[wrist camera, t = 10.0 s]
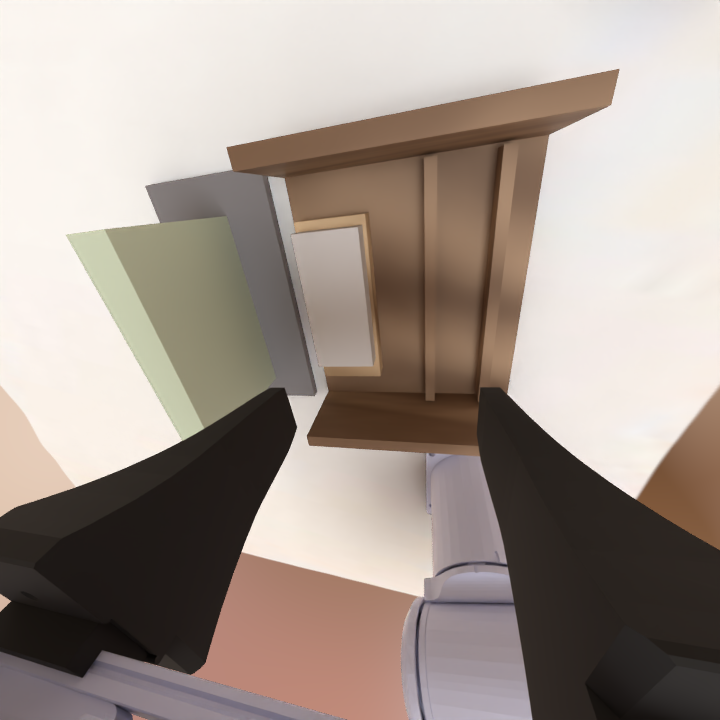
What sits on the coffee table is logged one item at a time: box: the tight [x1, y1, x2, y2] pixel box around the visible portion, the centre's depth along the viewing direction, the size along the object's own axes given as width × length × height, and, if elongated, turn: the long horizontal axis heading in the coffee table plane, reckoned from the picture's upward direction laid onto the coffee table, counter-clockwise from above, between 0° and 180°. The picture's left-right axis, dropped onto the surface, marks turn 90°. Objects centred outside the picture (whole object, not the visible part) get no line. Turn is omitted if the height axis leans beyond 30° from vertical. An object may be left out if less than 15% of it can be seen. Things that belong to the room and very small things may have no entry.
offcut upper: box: [291, 225, 376, 367], centre depth 17 cm, size 8×4×1 cm, turn 7°
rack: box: [227, 69, 619, 456], centre depth 16 cm, size 16×13×6 cm
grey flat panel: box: [145, 170, 317, 396], centre depth 21 cm, size 16×8×1 cm, turn 7°
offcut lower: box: [294, 213, 383, 376], centre depth 18 cm, size 10×4×1 cm, turn 7°
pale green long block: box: [66, 216, 276, 441], centre depth 17 cm, size 12×2×8 cm, turn 7°
